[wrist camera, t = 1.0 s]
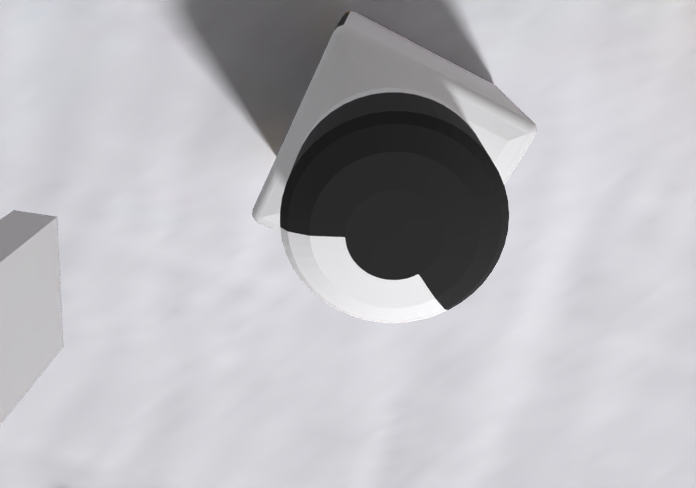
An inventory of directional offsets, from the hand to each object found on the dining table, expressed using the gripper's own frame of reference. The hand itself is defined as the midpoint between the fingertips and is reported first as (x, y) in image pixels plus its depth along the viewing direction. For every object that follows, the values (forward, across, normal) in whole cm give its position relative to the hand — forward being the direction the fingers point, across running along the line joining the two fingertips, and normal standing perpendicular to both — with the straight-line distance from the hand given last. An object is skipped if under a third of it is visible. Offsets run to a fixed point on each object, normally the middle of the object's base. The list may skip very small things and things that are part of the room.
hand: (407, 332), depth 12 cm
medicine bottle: (+17, 0, 0) cm, 17 cm away
